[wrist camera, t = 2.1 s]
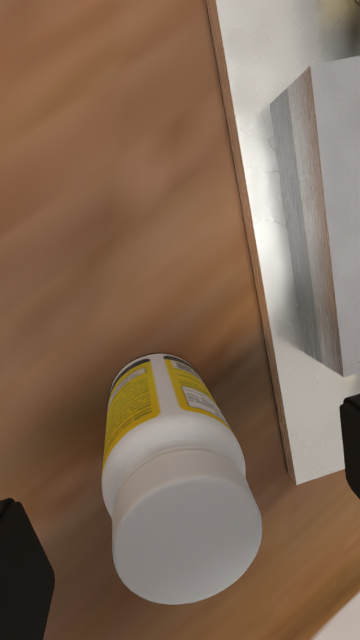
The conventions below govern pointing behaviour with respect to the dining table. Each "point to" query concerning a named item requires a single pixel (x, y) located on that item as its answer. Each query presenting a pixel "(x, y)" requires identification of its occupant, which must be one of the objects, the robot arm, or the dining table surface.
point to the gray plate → (299, 203)
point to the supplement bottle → (175, 485)
